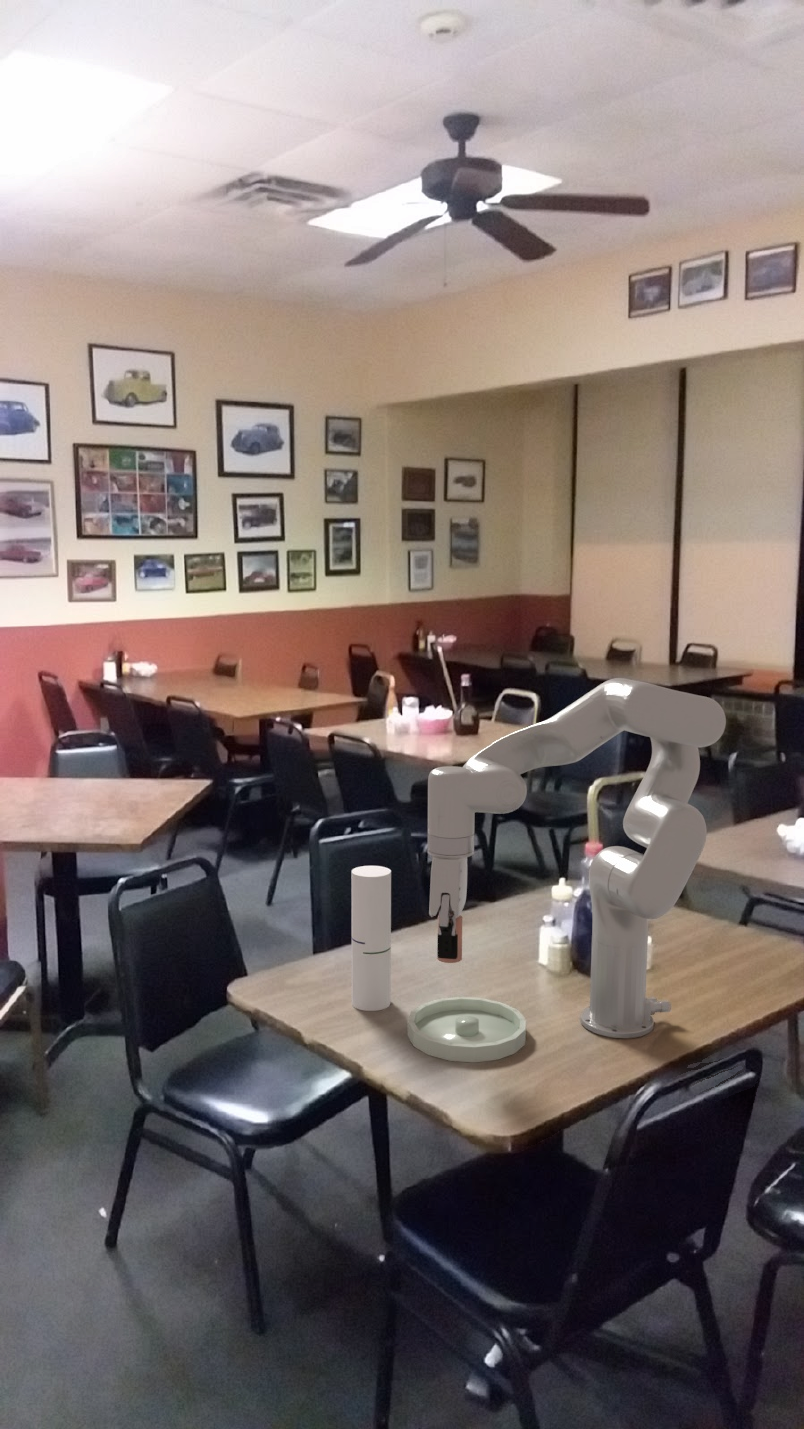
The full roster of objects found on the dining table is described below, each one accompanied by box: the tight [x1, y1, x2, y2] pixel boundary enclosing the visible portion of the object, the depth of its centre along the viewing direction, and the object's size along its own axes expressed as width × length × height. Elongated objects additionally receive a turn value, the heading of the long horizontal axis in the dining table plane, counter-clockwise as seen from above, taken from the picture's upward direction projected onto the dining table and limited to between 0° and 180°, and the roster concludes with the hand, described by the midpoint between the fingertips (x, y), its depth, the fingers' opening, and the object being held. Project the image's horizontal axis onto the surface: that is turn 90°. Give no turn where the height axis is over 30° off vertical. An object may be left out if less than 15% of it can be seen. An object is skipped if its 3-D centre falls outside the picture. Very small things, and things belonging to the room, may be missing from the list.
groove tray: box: [407, 996, 527, 1063], centre depth 183 cm, size 20×20×3 cm
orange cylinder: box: [436, 913, 463, 964], centre depth 174 cm, size 4×4×7 cm
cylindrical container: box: [350, 865, 392, 1012], centre depth 194 cm, size 7×7×25 cm
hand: (449, 951), depth 174 cm, fingers closed on orange cylinder, 3 cm apart
